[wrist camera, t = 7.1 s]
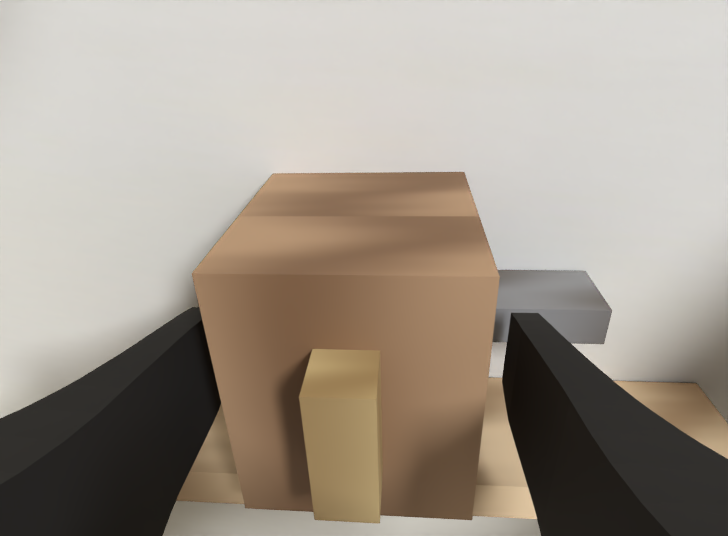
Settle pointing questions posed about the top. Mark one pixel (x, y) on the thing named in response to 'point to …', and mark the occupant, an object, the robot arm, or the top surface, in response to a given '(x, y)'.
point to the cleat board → (498, 450)
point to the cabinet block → (354, 343)
